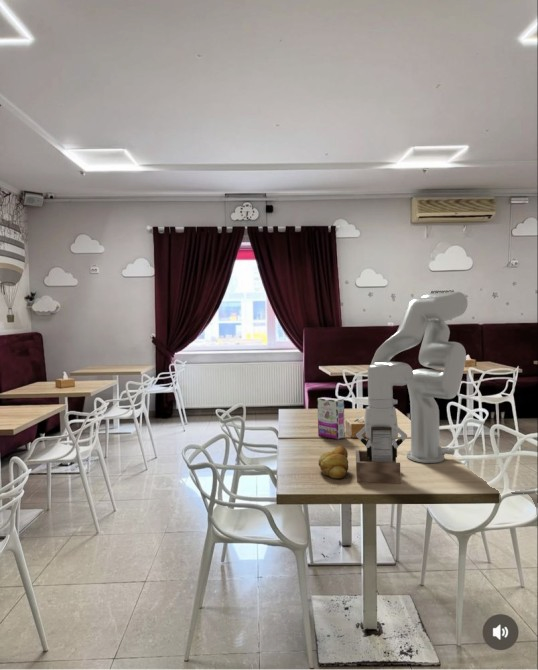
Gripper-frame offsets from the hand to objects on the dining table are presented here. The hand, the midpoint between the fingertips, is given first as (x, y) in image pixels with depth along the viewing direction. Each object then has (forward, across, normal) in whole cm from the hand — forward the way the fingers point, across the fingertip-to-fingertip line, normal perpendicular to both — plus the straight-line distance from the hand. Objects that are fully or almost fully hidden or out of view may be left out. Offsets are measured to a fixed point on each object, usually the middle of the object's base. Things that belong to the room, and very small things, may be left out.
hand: (381, 458), depth 141 cm
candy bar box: (+6, +18, -46) cm, 50 cm away
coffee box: (+5, 0, 0) cm, 5 cm away
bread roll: (+6, +15, 0) cm, 16 cm away
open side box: (+5, +2, 0) cm, 6 cm away
